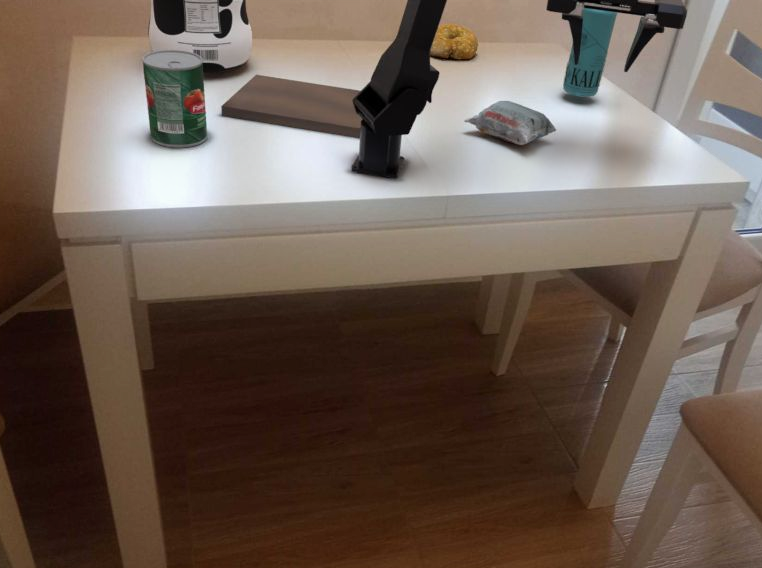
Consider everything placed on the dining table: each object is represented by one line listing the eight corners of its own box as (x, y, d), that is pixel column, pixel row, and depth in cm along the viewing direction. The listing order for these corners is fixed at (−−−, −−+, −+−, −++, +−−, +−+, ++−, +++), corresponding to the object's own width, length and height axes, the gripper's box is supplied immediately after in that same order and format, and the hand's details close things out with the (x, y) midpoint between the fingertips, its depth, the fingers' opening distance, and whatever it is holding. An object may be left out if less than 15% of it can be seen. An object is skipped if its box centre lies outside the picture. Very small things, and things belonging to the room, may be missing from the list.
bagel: (413, 50, 154) (416, 25, 151) (451, 43, 160) (454, 19, 157) (449, 64, 148) (452, 39, 145) (487, 56, 155) (491, 32, 152)
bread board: (361, 138, 116) (362, 128, 115) (221, 115, 118) (221, 106, 117) (383, 103, 129) (383, 94, 128) (256, 83, 131) (256, 74, 130)
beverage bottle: (573, 90, 143) (600, -27, 131) (603, 101, 139) (633, -18, 127) (552, 96, 139) (578, -24, 127) (582, 108, 135) (612, -15, 123)
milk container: (205, 43, 145) (199, -63, 134) (273, 67, 138) (272, -44, 127) (130, 61, 134) (116, -54, 123) (199, 88, 126) (192, -31, 115)
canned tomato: (146, 128, 112) (137, 50, 105) (201, 124, 115) (196, 48, 108) (155, 150, 106) (147, 69, 100) (213, 145, 109) (208, 67, 102)
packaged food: (524, 157, 116) (530, 125, 113) (461, 132, 121) (466, 101, 118) (554, 143, 121) (561, 112, 118) (493, 120, 127) (498, 90, 124)
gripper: (692, -52, 109) (660, 60, 118) (560, -69, 110) (539, 43, 120) (702, -37, 100) (667, 83, 109) (558, -56, 102) (536, 65, 111)
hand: (600, 67), depth 113 cm, fingers open, 7 cm apart
